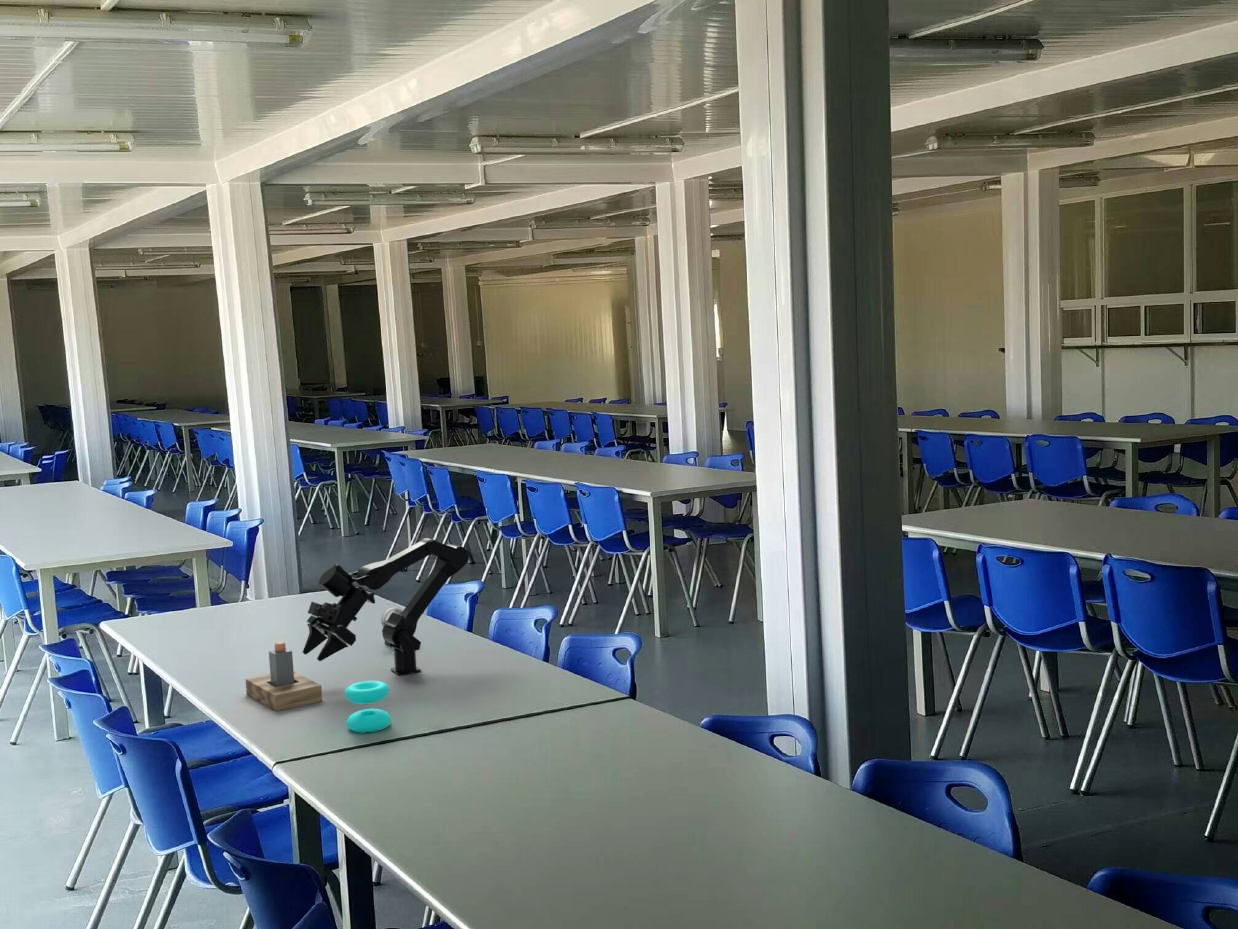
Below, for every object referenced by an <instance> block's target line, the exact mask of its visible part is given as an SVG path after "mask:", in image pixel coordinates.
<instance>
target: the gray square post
mask: <svg viewBox="0 0 1238 929" xmlns="http://www.w3.org/2000/svg"><path fill="white" fill-rule="evenodd" d="M293 659H294V658H293V651H292V650H291V649H289V648H287V647H286V642H284V641H280V642H279V641H278V642H275V643H274V650H273V649H272V650H268V660H269V661H268V662H269V674H270V676H271V685H272V686H274V687H279V686H283V685H288V684H293V683H294V672H295V671H294V661H293Z"/></svg>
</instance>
